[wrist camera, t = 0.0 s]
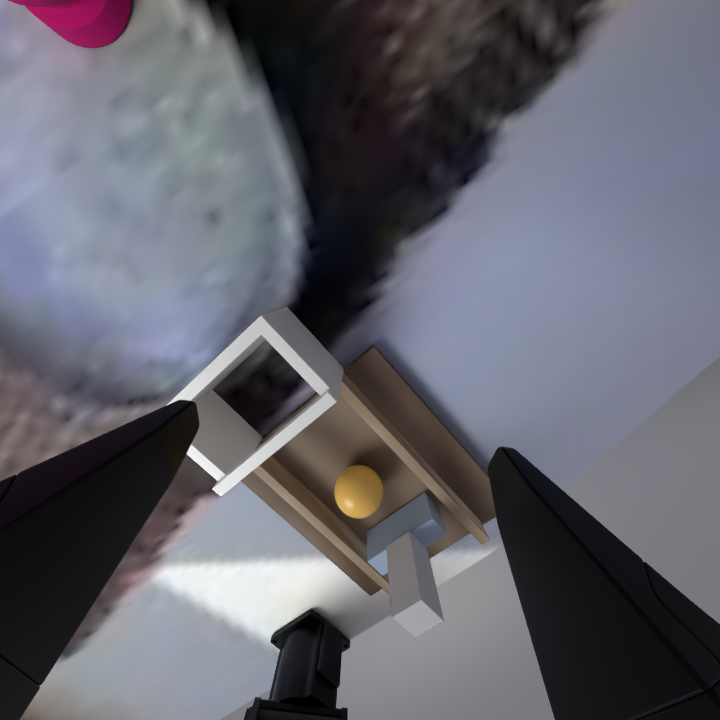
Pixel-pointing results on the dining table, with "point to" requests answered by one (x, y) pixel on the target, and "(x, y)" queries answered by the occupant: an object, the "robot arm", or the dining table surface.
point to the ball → (358, 491)
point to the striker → (409, 562)
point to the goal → (226, 427)
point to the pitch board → (382, 454)
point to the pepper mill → (82, 19)
